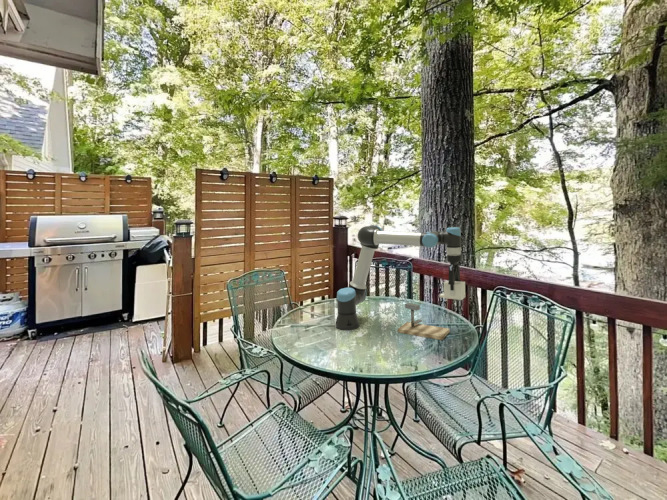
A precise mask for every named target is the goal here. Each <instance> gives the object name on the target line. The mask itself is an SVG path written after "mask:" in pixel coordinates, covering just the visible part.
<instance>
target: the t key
mask: <svg viewBox="0 0 667 500" xmlns="http://www.w3.org/2000/svg"><path fill="white" fill-rule="evenodd" d="M404 309H407V310H410V323H411V327H414V325H415V324H421V323H422V322H423V319H420V318H419V319H416V320H415V311H419V310H420V309H421V305H420V304H417V303H411V302H407V303H404Z"/></svg>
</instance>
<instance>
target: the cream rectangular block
mask: <svg viewBox="0 0 667 500" xmlns="http://www.w3.org/2000/svg"><path fill="white" fill-rule="evenodd" d="M448 283H449V280H446V281H444V282H443V293H442V292H441V294H439V296H438V297H439V298H444V299H448V300H449V299H450V300H458V301H463V300H464V299H465V298H466V281H462V280H461V281H455V296H450V284H448Z"/></svg>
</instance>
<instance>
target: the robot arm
mask: <svg viewBox="0 0 667 500" xmlns="http://www.w3.org/2000/svg"><path fill="white" fill-rule="evenodd" d="M461 233H462V232H461V228H460V227H457V226H456V227H455V226H454V227H447V228H446V230H444V231H441V230H440V231H438V230H437V231H436V230H435V231H432V230H431V231H426V232H413V231H411V232H410V231H391V230H389V231H388V230H383V229H382V228H381V227H380V226H379V225H375V224H371V225H368V226H367V225H365V226H362V227H361V228H360V229H359V230H358V233H357V239H358V242H359V244H360V246H361V247H360V251H359V257H358V260H357V263H356V267H355V270H354V274H353V278H352V281H350V282H349V284H348V287H344V288H340V289H339V290H338V291H337V292H336V305H337V317H336V320H335V328H336V329H339V330H344V331H348V330H350V331H351V330H357V328H359V327H360V320H359V318H358V314H357V306H358V305H360V304H361V303H363V301H365V299H366V298H367V285H366V283H367V280H368V275H369V272H370V268H371V265H372V261H373V257H374V255H375V251H376V250H378V249H379V246H380V245H392V246H393V245H394V246H395V245H396V246H398V245H399V246H410V247H411V246H412V247H413V246H414V247H425V248H429V249H431V248H434V247H436V246H437V245H446V254H447V255H446V261H447V262H448V263H450V265H449V266H448V281H449V283H448V284H450V296H455V281H462V280H461V272H460V271H461V270H460V265H461V264H460V262H461V261H462V251H463V249H462V246H461V245H462V235H461Z"/></svg>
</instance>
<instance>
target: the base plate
mask: <svg viewBox="0 0 667 500" xmlns="http://www.w3.org/2000/svg"><path fill="white" fill-rule="evenodd" d="M450 332H451V331H450V328H447V327H443V326H442V327H440V326H435V325H428V324H423V323H417V324H415V325H414V327H411V321H410V322H409V321H406V322H405V323H404V324H402V325H401V326H400V327H398V328H397V333H401V334H405V335H411V336H416V337H417V336H418V337H423V338H426V339H427V338H428V339H432V340H433V339H435V340H440V341H443V340H444V339H445V338H446V337H447V335H448V334H449V333H450Z"/></svg>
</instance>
